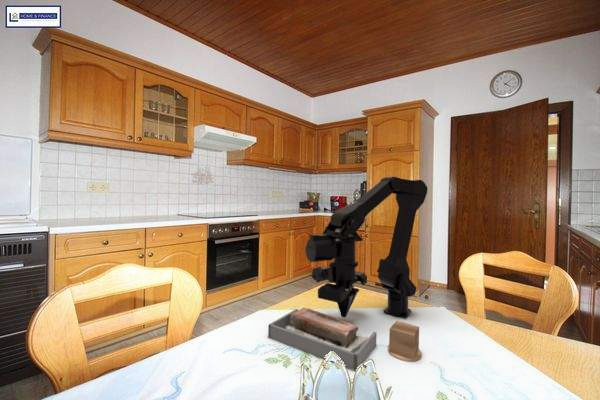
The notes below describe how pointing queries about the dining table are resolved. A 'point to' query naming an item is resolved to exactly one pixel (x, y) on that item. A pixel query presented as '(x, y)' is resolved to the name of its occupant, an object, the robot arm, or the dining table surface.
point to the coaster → (417, 357)
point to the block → (404, 339)
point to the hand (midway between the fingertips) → (343, 316)
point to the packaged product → (326, 329)
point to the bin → (318, 343)
